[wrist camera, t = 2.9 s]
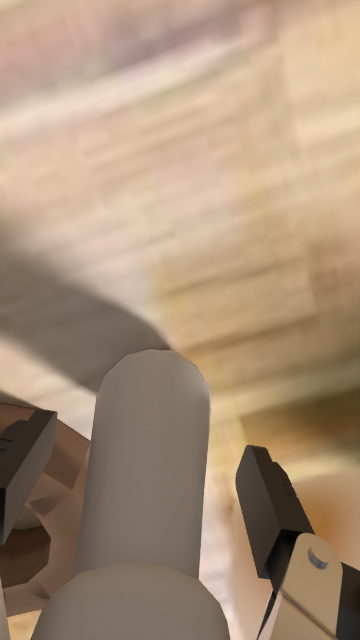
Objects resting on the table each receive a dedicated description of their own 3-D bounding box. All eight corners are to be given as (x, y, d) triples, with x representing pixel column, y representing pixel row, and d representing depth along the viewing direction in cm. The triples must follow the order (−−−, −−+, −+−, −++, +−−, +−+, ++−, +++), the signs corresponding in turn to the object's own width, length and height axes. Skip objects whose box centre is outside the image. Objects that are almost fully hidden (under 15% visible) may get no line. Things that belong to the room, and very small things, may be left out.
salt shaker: (100, 337, 16) (-154, 730, 3) (202, 329, 16) (312, 691, 3) (116, 424, 18) (-15, 885, 5) (207, 416, 18) (291, 858, 5)
